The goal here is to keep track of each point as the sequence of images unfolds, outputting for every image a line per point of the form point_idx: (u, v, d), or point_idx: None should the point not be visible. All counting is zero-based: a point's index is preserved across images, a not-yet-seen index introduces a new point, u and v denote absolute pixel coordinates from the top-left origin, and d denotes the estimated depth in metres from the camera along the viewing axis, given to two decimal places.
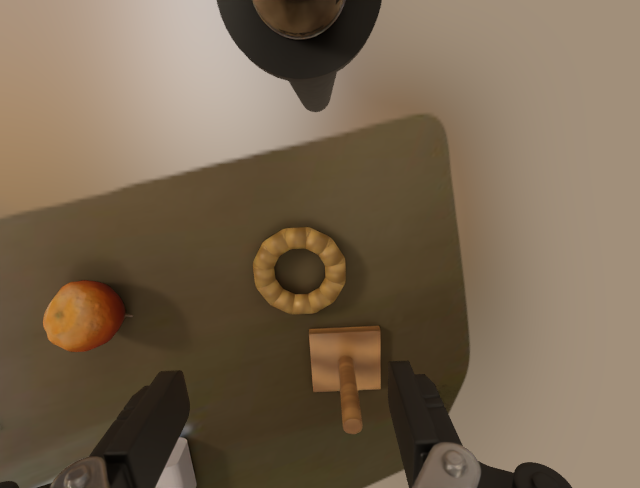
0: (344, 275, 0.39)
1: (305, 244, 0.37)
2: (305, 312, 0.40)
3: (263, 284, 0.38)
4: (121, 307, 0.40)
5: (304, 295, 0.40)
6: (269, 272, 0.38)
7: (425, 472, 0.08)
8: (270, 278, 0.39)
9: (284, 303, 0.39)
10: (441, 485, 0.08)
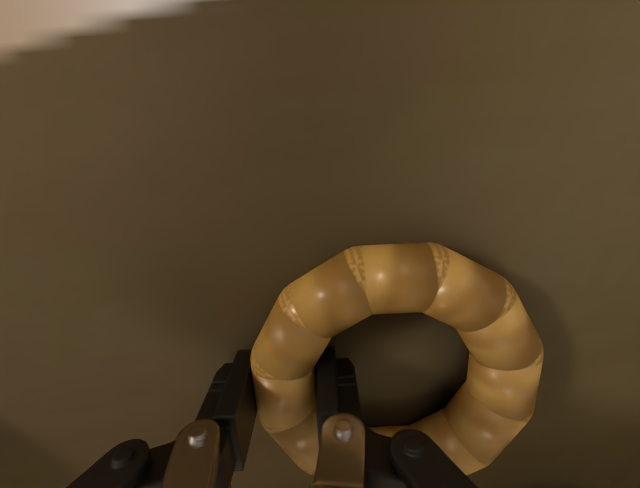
0: None
1: (433, 302, 0.11)
2: None
3: (283, 422, 0.12)
4: None
5: None
6: (302, 386, 0.12)
7: (323, 448, 0.09)
8: (305, 402, 0.12)
9: None
10: (338, 452, 0.09)
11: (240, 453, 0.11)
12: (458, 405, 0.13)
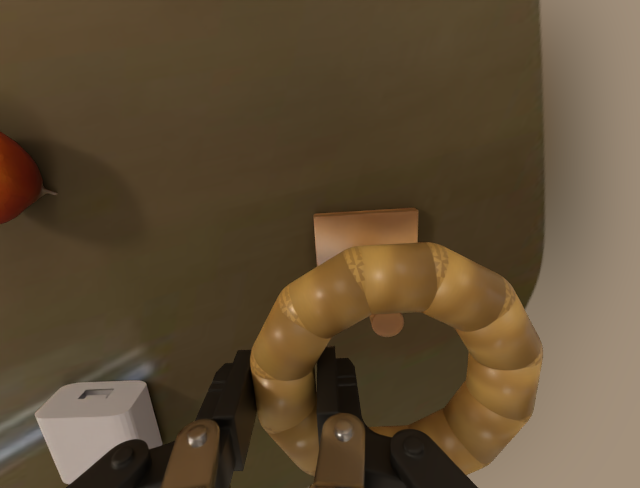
0: None
1: (432, 302, 0.11)
2: None
3: (283, 422, 0.12)
4: (31, 168, 0.26)
5: None
6: (302, 386, 0.12)
7: (323, 448, 0.09)
8: (305, 403, 0.12)
9: None
10: (338, 452, 0.09)
11: (240, 453, 0.11)
12: (458, 405, 0.13)
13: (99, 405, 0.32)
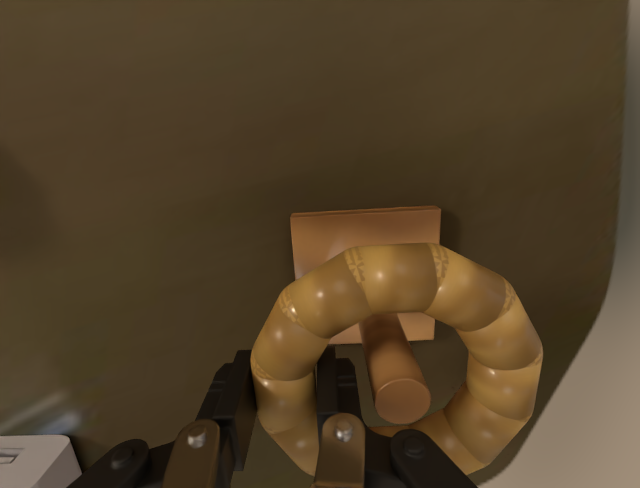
0: None
1: (432, 302, 0.11)
2: None
3: (284, 422, 0.12)
4: None
5: None
6: (303, 387, 0.12)
7: (323, 448, 0.09)
8: (305, 403, 0.12)
9: None
10: (338, 452, 0.09)
11: (240, 453, 0.11)
12: (458, 405, 0.13)
13: None
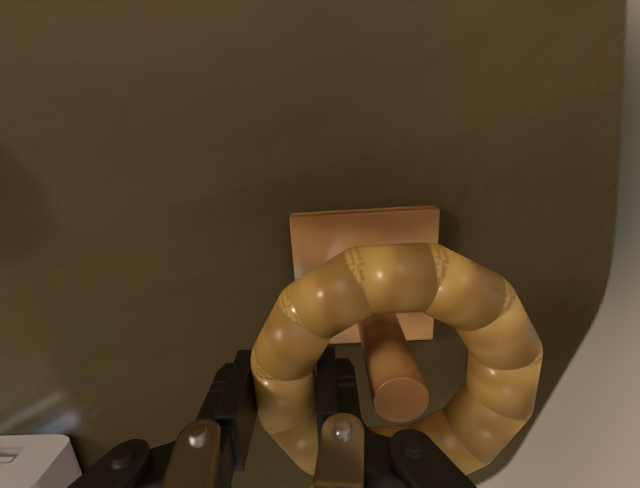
0: None
1: (432, 302, 0.11)
2: None
3: (284, 422, 0.12)
4: None
5: None
6: (303, 386, 0.12)
7: (322, 448, 0.09)
8: (305, 403, 0.12)
9: None
10: (338, 452, 0.09)
11: (241, 453, 0.11)
12: (458, 404, 0.13)
13: None
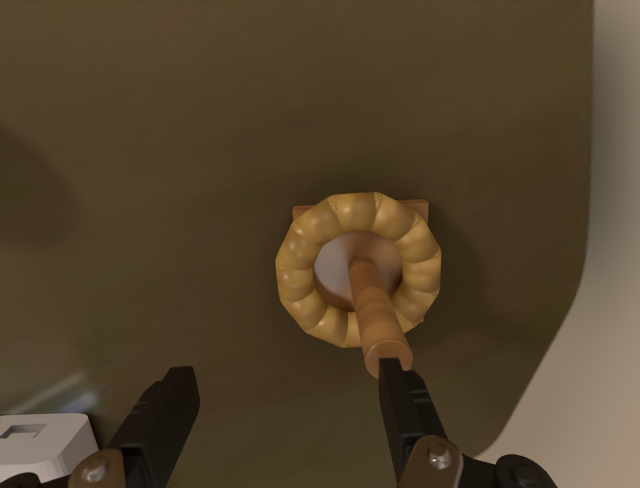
0: (439, 279, 0.22)
1: (374, 222, 0.20)
2: None
3: (295, 297, 0.21)
4: None
5: None
6: (305, 275, 0.21)
7: (410, 466, 0.08)
8: (307, 286, 0.22)
9: (331, 330, 0.22)
10: (426, 477, 0.08)
11: (155, 483, 0.10)
12: (397, 292, 0.23)
13: (22, 448, 0.26)
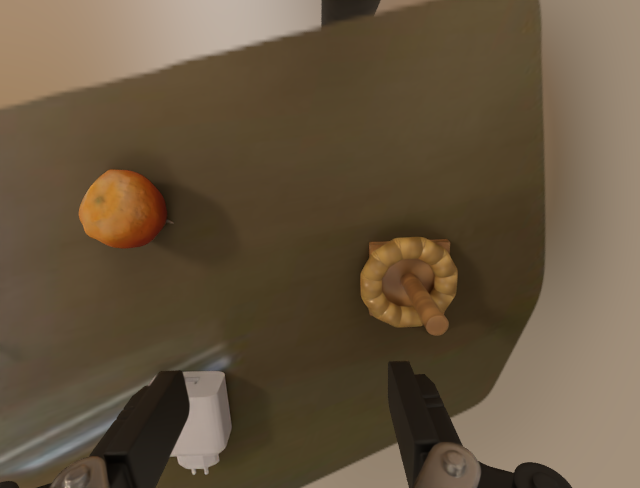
0: (456, 286, 0.37)
1: (421, 254, 0.35)
2: (412, 325, 0.38)
3: (372, 296, 0.37)
4: (165, 205, 0.35)
5: (410, 307, 0.38)
6: (379, 283, 0.37)
7: (425, 472, 0.08)
8: (379, 290, 0.37)
9: (392, 316, 0.38)
10: (441, 485, 0.08)
11: None
12: (431, 294, 0.38)
13: (192, 389, 0.41)
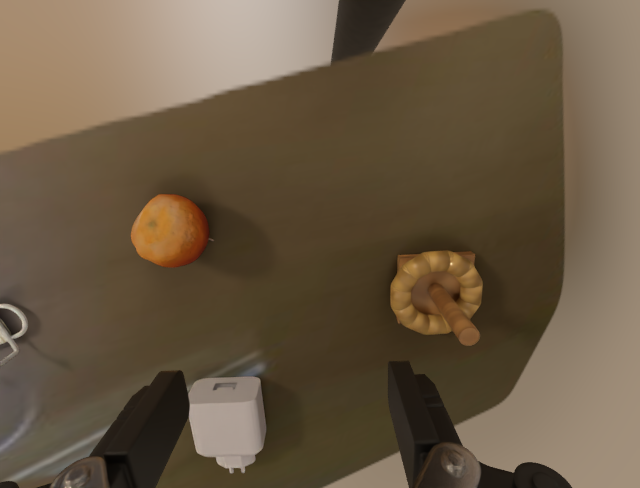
0: (481, 296, 0.40)
1: (449, 267, 0.38)
2: (440, 333, 0.41)
3: (402, 306, 0.39)
4: None
5: (437, 316, 0.41)
6: (409, 295, 0.39)
7: (425, 472, 0.08)
8: (409, 300, 0.39)
9: (421, 324, 0.40)
10: (441, 485, 0.08)
11: None
12: (457, 303, 0.40)
13: (231, 394, 0.44)
